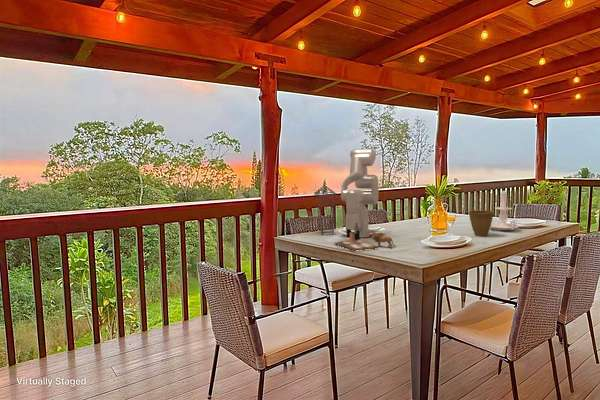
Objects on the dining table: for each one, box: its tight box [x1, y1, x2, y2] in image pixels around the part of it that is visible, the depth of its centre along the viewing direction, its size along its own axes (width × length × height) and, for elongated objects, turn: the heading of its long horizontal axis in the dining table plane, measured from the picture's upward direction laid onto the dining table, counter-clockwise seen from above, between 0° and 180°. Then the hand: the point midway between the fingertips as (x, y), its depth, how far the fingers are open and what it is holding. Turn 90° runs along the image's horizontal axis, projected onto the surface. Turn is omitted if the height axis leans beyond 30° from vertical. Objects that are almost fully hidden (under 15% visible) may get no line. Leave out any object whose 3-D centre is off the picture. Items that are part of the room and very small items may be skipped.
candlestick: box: [490, 190, 520, 231], centre depth 285 cm, size 21×25×28 cm
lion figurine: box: [371, 231, 397, 249], centre depth 245 cm, size 15×5×9 cm, turn 66°
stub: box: [343, 231, 365, 245], centre depth 251 cm, size 12×5×7 cm, turn 113°
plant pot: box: [468, 210, 494, 237], centre depth 271 cm, size 15×15×16 cm
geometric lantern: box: [313, 185, 337, 236], centre depth 293 cm, size 16×16×35 cm
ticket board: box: [334, 240, 379, 252], centre depth 249 cm, size 16×24×2 cm, turn 23°
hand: (353, 238), depth 251 cm, fingers open, 9 cm apart
